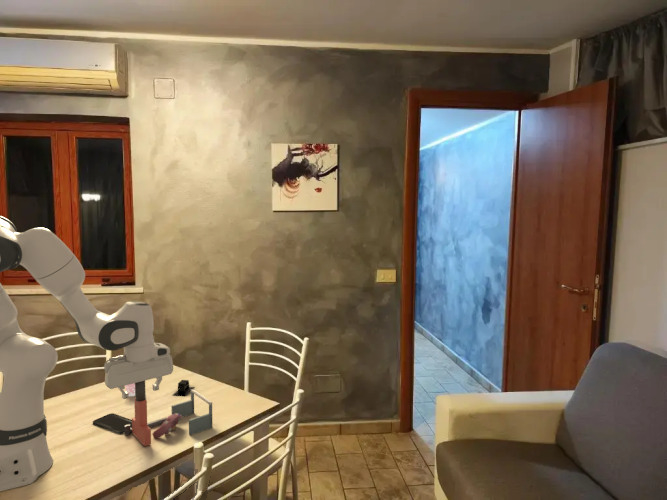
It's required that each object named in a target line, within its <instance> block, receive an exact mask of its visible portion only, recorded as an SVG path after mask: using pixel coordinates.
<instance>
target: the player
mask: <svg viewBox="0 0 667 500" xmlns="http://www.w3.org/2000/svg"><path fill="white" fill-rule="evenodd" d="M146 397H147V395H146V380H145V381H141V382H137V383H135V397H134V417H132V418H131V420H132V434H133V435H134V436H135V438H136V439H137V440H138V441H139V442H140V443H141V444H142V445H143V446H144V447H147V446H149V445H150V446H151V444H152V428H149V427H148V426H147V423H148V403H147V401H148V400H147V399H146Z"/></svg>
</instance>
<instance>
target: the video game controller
mask: <svg viewBox="0 0 667 500" xmlns="http://www.w3.org/2000/svg"><path fill="white" fill-rule="evenodd" d="M182 418H183V417H182V415H180V414H177V413H175V414H173V415H172V414H170V415H168V416H167V419H166V421H165V422H164V423H163V424H161V425H159V427H158V428H157V429H155V430H154V431H153V432H152V437H153V438H155V439H159V438H161V437H163V436H164V435H165V436H167V435H168V434H170V432H171V431H174V430H175V429H176V427H177V424H179V422H180V421H181V420H182Z"/></svg>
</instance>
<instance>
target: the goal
mask: <svg viewBox="0 0 667 500" xmlns="http://www.w3.org/2000/svg"><path fill="white" fill-rule="evenodd" d="M195 396H196V397H198V398H199V399H201V400H202V401H203V402H205V403H206V404H208V413H206V414H203V415H200V416H196V417H194V418H190V419H188V435H189V436H192V435H195V434H199V433H201V432H203V431H207V430H210V429H212V428H213V401H211V400H210V399H208V397H205V396H204V395H202V393H200V392H198V391H197V390H196V389H195V388H194V389H191V391H190V400H187V401H183V402H179V403H175V404H173V405H171V415H173V414H175V413H177V414H180V415H182V418H184V417H186V416H187V417H188V416H190V415H194V414H195Z"/></svg>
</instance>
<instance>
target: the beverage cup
mask: <svg viewBox="0 0 667 500" xmlns="http://www.w3.org/2000/svg"><path fill="white" fill-rule="evenodd" d="M125 391H127V392H128V393H129V395H128V396H129V397H134V396H135V383H133V384H129V385H125Z"/></svg>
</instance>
